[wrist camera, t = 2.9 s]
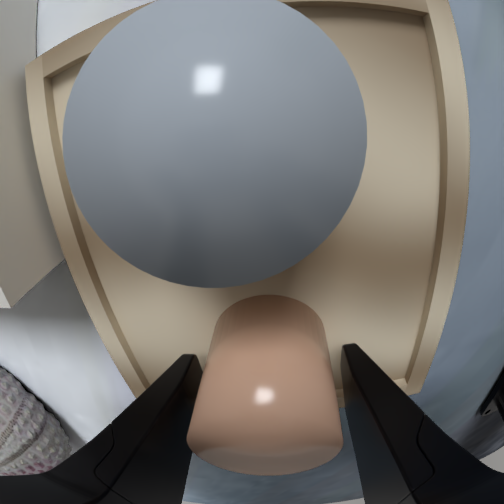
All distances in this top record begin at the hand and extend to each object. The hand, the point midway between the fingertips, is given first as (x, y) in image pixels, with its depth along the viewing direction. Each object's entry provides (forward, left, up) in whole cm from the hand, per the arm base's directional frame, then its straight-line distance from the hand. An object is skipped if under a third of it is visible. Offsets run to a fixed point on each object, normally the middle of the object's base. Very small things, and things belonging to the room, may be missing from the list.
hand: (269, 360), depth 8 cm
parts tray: (+3, 0, -2) cm, 4 cm away
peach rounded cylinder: (0, 0, -1) cm, 1 cm away
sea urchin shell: (-9, +22, -2) cm, 24 cm away
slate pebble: (+6, 0, -1) cm, 6 cm away
